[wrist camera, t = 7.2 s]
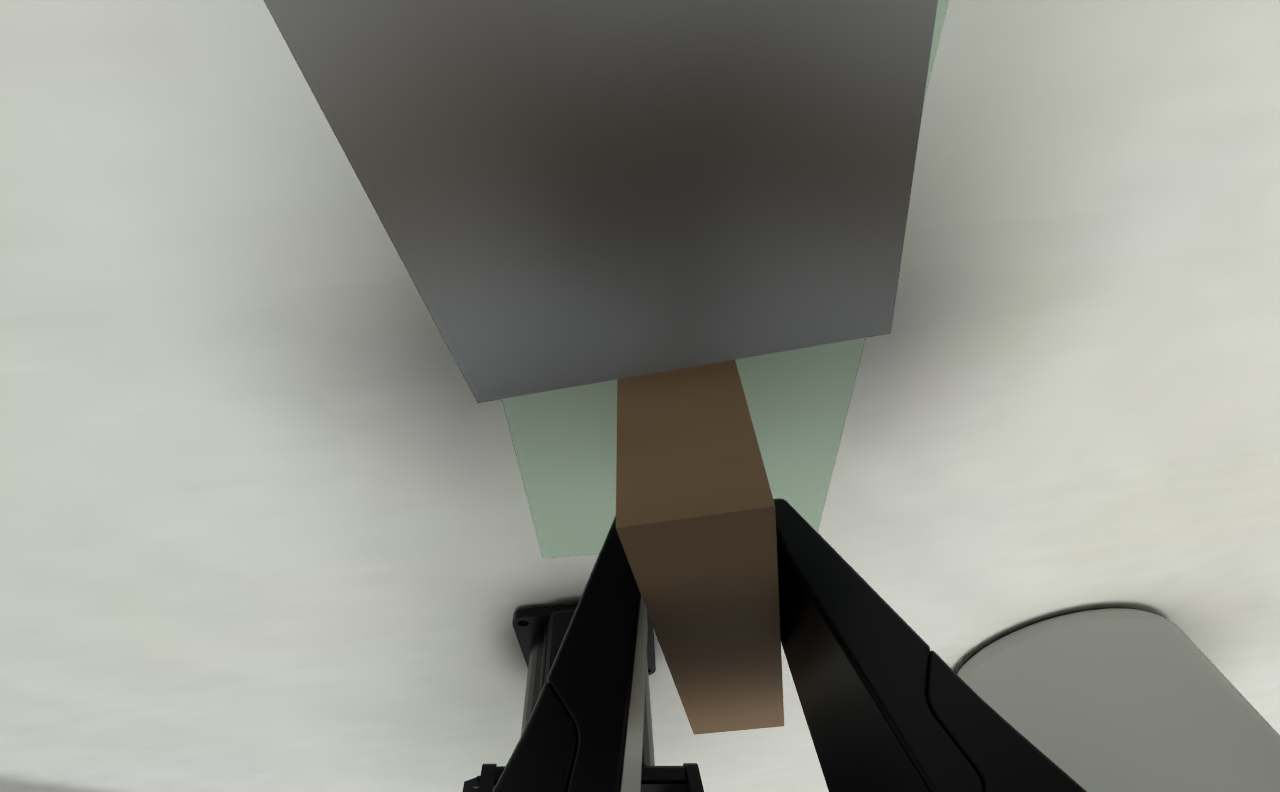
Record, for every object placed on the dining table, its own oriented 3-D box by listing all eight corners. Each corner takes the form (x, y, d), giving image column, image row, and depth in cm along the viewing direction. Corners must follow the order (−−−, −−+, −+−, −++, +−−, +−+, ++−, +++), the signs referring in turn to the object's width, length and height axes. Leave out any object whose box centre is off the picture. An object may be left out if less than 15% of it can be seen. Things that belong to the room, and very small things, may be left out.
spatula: (842, 551, 14) (901, 714, 11) (593, 583, 15) (586, 744, 12) (921, -206, 5) (1316, -405, 2) (293, -35, 6) (-34, -16, 3)
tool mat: (808, 517, 22) (816, 536, 21) (544, 537, 22) (542, 558, 21) (934, -46, 11) (961, -50, 10) (410, -17, 11) (395, -19, 10)
